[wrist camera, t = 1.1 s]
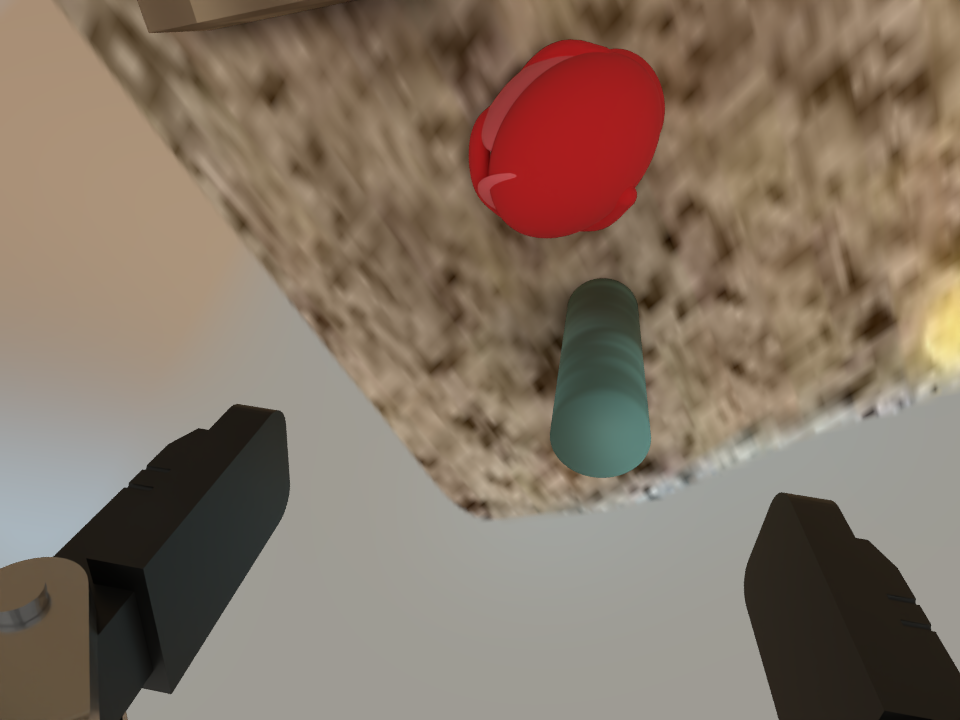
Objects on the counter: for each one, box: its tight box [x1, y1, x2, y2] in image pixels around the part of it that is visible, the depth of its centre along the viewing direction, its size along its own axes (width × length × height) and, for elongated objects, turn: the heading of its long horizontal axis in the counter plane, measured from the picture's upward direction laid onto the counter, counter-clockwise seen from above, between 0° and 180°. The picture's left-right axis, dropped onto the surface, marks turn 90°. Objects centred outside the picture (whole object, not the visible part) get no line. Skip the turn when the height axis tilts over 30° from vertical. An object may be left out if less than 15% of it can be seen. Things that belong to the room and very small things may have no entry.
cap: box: [469, 39, 665, 238], centre depth 23 cm, size 8×6×6 cm
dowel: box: [550, 279, 651, 478], centre depth 24 cm, size 3×3×10 cm
